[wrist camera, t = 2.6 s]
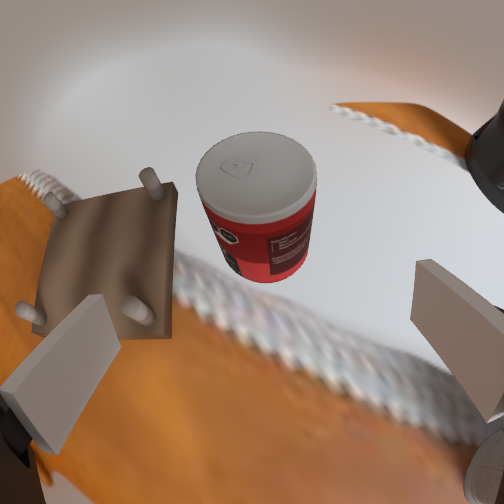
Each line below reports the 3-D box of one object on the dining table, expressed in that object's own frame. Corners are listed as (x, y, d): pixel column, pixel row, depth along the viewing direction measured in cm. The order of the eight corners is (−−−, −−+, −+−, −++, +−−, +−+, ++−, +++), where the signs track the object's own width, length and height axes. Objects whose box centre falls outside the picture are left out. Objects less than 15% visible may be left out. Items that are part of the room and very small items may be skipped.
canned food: (228, 213, 31) (204, 132, 21) (307, 214, 30) (314, 130, 20) (219, 284, 28) (183, 218, 18) (308, 287, 27) (320, 219, 17)
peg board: (178, 193, 33) (162, 159, 28) (171, 338, 26) (145, 323, 21) (65, 214, 34) (42, 189, 29) (43, 336, 26) (9, 322, 22)
